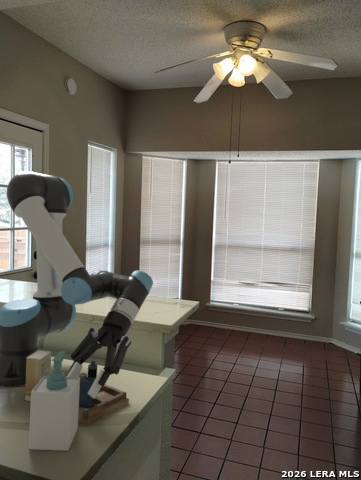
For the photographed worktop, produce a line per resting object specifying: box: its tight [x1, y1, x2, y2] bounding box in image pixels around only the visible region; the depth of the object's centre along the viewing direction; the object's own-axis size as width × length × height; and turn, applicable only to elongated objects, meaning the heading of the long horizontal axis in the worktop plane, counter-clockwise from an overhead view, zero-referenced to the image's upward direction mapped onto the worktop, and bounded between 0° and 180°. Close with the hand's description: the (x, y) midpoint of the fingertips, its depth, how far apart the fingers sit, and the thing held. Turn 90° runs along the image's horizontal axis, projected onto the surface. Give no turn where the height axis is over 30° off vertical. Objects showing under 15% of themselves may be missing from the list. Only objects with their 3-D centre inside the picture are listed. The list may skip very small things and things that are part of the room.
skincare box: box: [24, 349, 52, 402], centre depth 105 cm, size 6×4×12 cm
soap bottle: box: [28, 350, 80, 452], centre depth 85 cm, size 9×9×19 cm
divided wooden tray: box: [78, 383, 130, 426], centre depth 102 cm, size 12×15×3 cm
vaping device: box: [78, 360, 98, 408], centre depth 99 cm, size 3×5×12 cm, turn 79°
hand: (78, 391), depth 96 cm, fingers open, 8 cm apart
